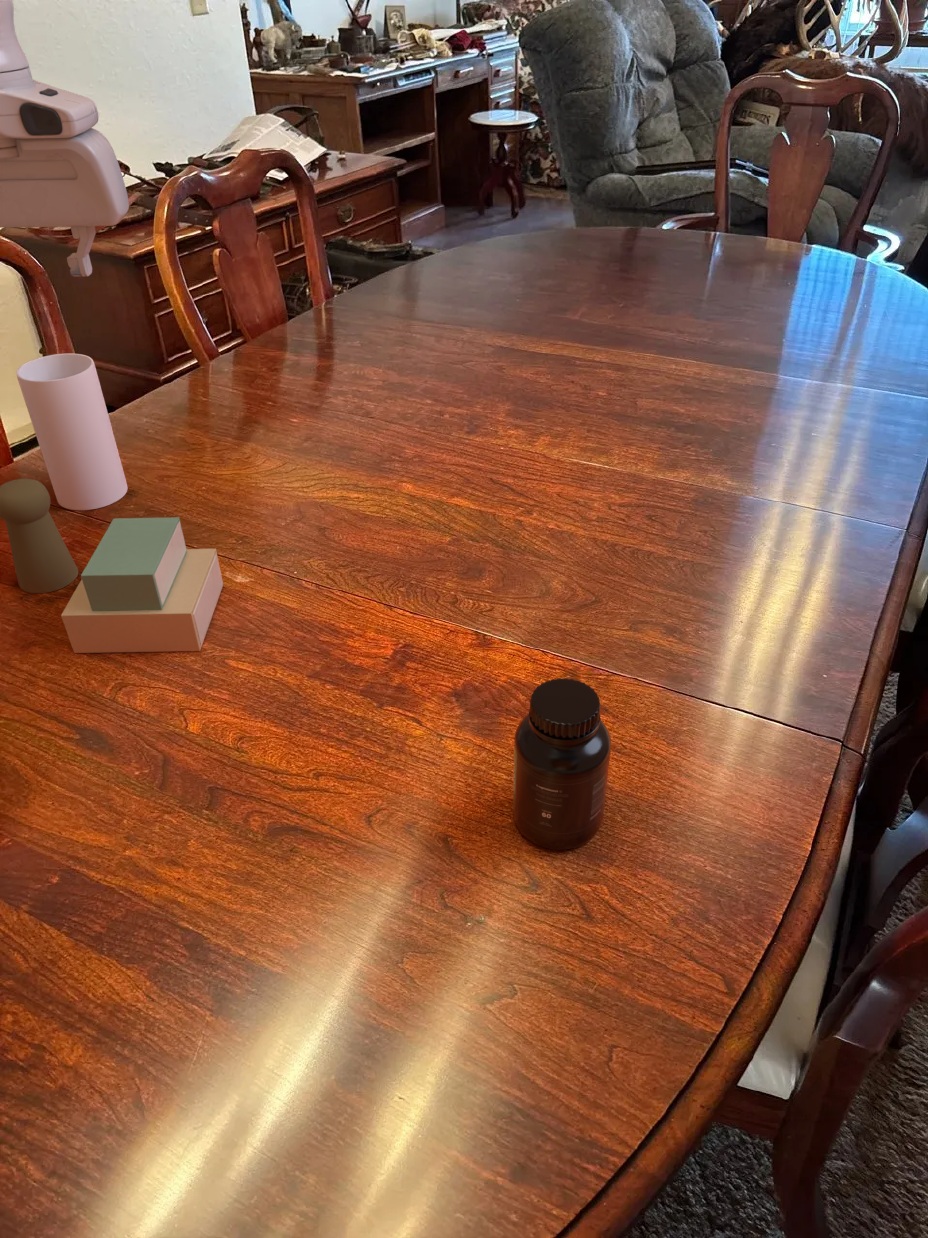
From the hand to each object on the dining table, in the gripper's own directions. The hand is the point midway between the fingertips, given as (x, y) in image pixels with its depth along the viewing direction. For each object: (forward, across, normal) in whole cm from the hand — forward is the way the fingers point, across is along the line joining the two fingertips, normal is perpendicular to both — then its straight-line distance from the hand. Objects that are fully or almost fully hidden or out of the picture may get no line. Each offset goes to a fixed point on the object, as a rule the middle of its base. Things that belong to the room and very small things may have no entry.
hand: (32, 275), depth 86 cm
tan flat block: (+29, +9, -15) cm, 34 cm away
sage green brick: (+24, +9, -15) cm, 30 cm away
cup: (+29, -5, +10) cm, 31 cm away
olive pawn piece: (+29, -4, -8) cm, 30 cm away
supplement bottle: (+29, +47, -42) cm, 69 cm away
